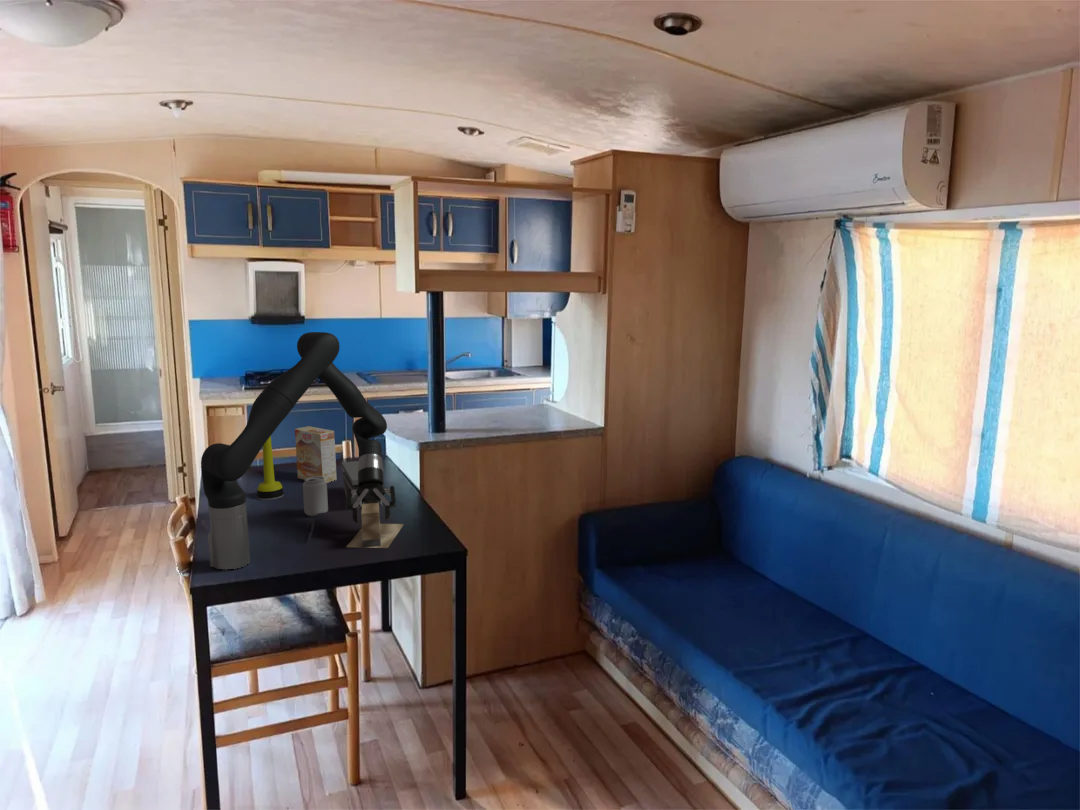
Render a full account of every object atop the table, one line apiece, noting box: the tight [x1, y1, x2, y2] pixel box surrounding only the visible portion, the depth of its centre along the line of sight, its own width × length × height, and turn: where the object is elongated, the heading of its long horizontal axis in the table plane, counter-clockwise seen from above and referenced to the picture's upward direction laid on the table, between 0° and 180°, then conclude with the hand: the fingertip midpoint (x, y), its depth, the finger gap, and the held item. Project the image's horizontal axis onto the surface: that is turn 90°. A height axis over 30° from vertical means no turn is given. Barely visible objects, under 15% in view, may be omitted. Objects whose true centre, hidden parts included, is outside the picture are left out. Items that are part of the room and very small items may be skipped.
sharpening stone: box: [341, 460, 370, 505], centre depth 254 cm, size 25×8×11 cm, turn 23°
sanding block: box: [360, 502, 381, 547], centre depth 212 cm, size 5×9×10 cm, turn 12°
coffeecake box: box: [294, 425, 338, 484], centre depth 279 cm, size 15×7×20 cm, turn 55°
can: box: [302, 476, 329, 517], centre depth 240 cm, size 8×8×12 cm
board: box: [345, 523, 405, 549], centre depth 218 cm, size 12×20×1 cm, turn 177°
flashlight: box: [256, 435, 285, 501], centre depth 258 cm, size 25×9×9 cm
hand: (371, 520), depth 214 cm, fingers open, 8 cm apart
